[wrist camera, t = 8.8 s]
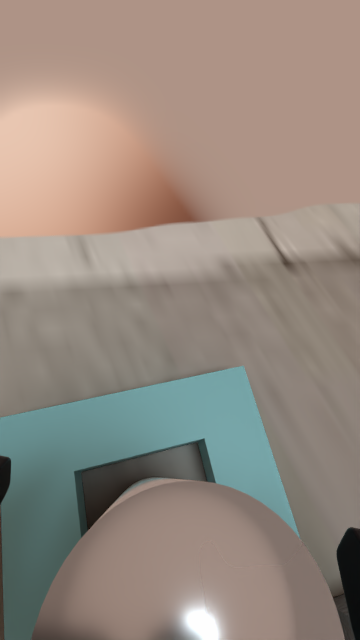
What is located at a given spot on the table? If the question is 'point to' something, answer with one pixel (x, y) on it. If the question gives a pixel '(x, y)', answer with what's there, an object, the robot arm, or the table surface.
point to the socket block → (344, 617)
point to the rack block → (111, 447)
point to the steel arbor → (188, 572)
